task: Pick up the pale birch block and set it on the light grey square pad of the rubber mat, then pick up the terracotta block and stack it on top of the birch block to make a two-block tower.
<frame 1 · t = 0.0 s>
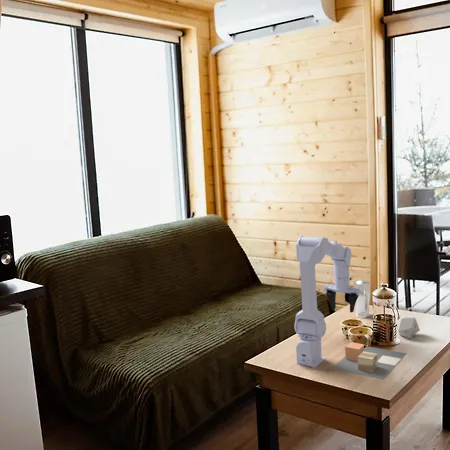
hand: (342, 310, 218), 10 cm above the table, tool pointing down, fingers open, 7 cm apart
beer glass: (362, 316, 241), on the table
die: (407, 336, 215), on the table
build mat: (370, 362, 193), on the table
birch block: (368, 368, 187), resting on build mat
terracotta block: (355, 357, 196), resting on build mat
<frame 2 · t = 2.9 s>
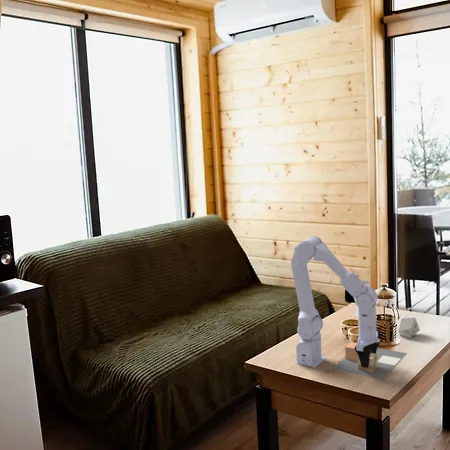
hand: (367, 364, 187), 2 cm above the table, tool pointing down, fingers closed on birch block, 5 cm apart
birch block: (368, 368, 187), resting on build mat, touching gripper
everything else where it was.
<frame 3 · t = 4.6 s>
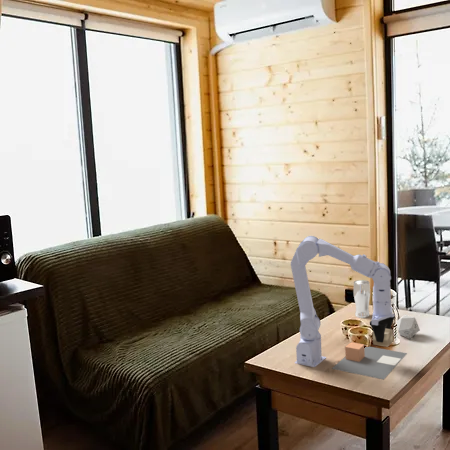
hand: (382, 339, 189), 9 cm above the table, tool pointing down, fingers closed on birch block, 5 cm apart
birch block: (383, 343, 189), point 8 cm above the table, touching gripper
everything else where it was.
when the fingers open (3 cm above the table, at t = 6.4 s): birch block drops 1 cm, resting on build mat.
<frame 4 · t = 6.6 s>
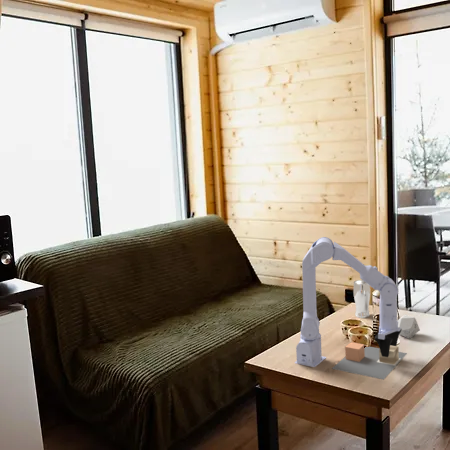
hand: (388, 352, 191), 3 cm above the table, tool pointing down, fingers open, 7 cm apart
birch block: (389, 360, 192), point 1 cm above the table, touching build mat
everything else where it was.
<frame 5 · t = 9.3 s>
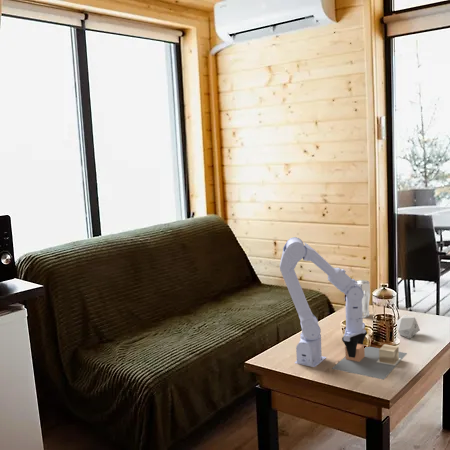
hand: (355, 354, 195), 2 cm above the table, tool pointing down, fingers closed on terracotta block, 5 cm apart
terracotta block: (355, 357, 196), resting on build mat, touching gripper
everything else where it was.
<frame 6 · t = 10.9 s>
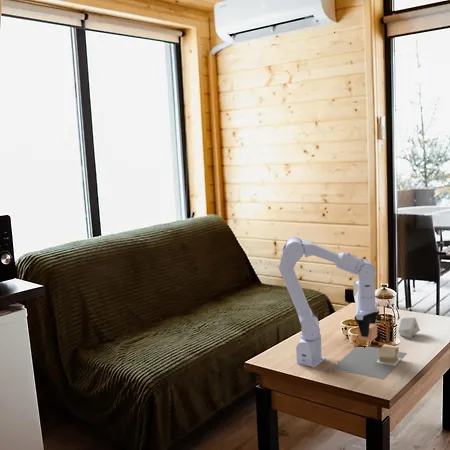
hand: (367, 333, 193), 10 cm above the table, tool pointing down, fingers closed on terracotta block, 5 cm apart
terracotta block: (367, 337, 193), point 8 cm above the table, touching gripper
everything else where it was.
when the fingers open (8 cm above the table, at t = 12.3 s): terracotta block drops 1 cm, resting on birch block.
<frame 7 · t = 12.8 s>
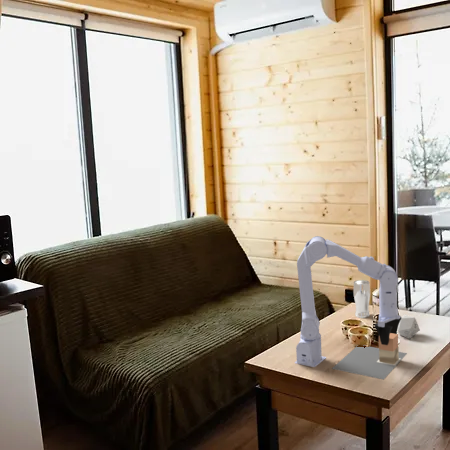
hand: (388, 340, 191), 8 cm above the table, tool pointing down, fingers open, 7 cm apart
birch block: (389, 360, 192), point 1 cm above the table, touching build mat, terracotta block
terracotta block: (388, 347, 191), point 5 cm above the table, touching birch block
everything else where it was.
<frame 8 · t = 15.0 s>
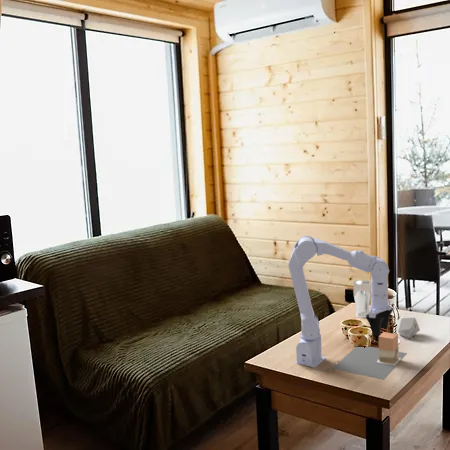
hand: (379, 331, 192), 10 cm above the table, tool pointing down, fingers open, 7 cm apart
nothing on the table moved.
at the end: birch block 0.1 cm from the target spot, point 0.6 cm above the table; terracotta block 0.1 cm off-centre on the birch block, point 4.5 cm above the birch block's base; terracotta block tilted 0° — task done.
